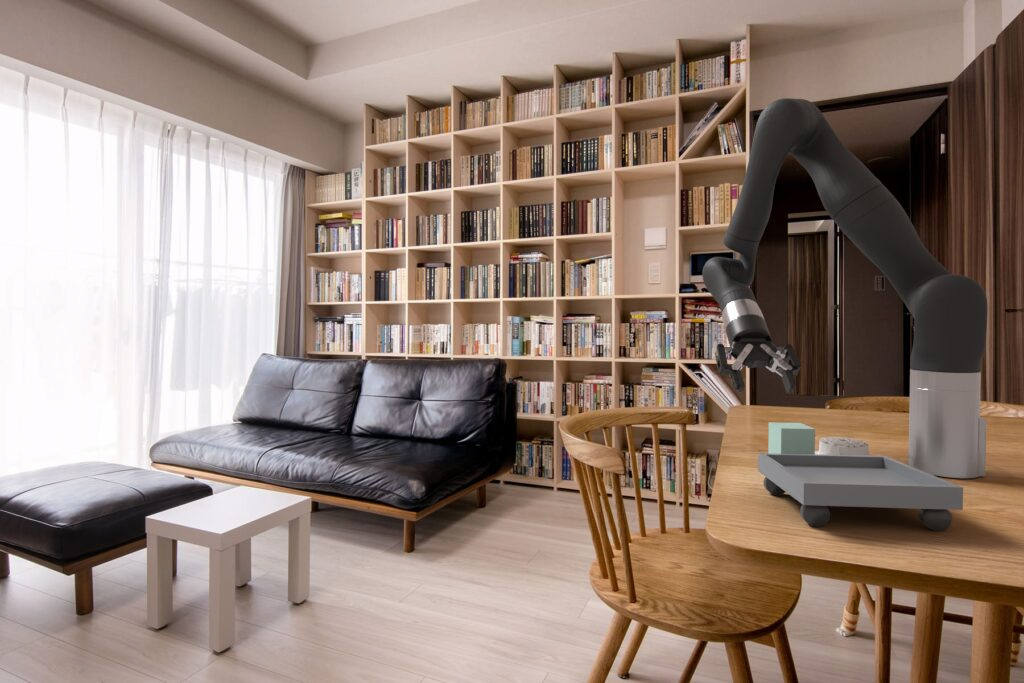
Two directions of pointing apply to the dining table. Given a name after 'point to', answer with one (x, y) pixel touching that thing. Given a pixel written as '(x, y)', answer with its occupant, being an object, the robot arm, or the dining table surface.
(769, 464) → the grey shallow tray
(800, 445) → the sage part block
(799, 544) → the dining table surface
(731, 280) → the robot arm
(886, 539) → the dining table surface
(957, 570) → the dining table surface
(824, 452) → the mechanical component
